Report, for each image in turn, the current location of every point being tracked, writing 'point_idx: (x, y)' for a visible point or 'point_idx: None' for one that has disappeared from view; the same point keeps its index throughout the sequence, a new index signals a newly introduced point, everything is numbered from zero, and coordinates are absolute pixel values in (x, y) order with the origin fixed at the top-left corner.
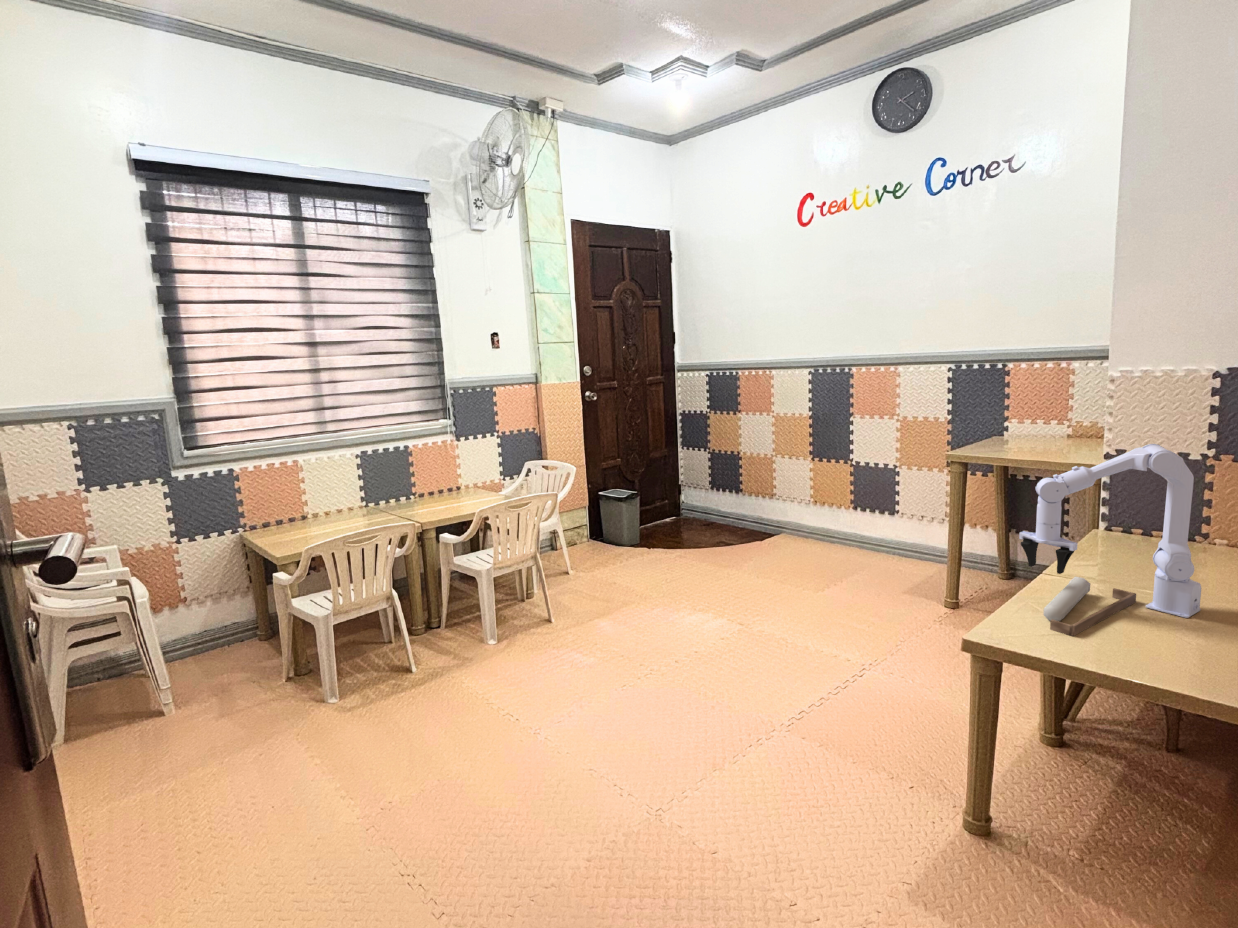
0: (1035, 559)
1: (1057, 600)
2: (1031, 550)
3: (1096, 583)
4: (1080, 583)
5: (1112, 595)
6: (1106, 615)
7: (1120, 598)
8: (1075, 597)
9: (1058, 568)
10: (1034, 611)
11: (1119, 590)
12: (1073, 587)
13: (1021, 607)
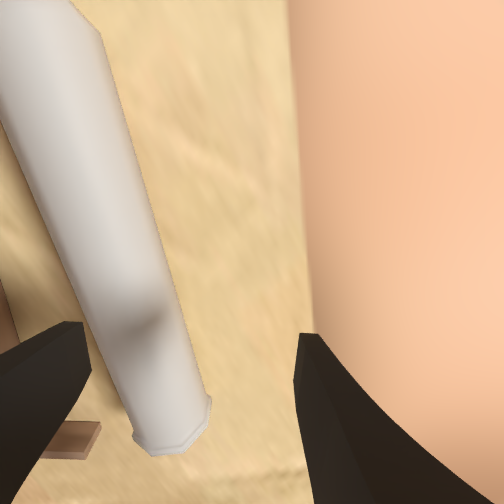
0: (302, 423)
1: (40, 120)
2: (346, 501)
3: (194, 482)
4: (134, 409)
5: (96, 427)
6: None
7: (73, 423)
8: (68, 274)
9: (30, 345)
10: (185, 98)
11: (61, 451)
12: (117, 350)
13: (253, 102)
